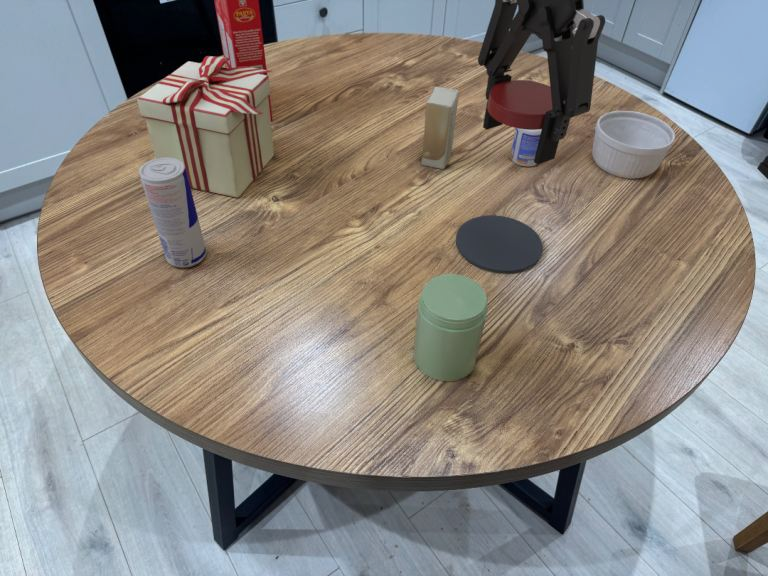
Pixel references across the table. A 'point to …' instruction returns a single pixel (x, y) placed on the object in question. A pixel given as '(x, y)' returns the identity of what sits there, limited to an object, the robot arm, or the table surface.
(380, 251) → the table surface
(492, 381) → the table surface
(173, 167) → the beverage can
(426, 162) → the cosmetic box
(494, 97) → the lid
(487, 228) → the coaster
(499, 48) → the robot arm
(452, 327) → the jar
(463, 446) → the table surface
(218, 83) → the gift box
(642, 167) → the ramekin
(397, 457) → the table surface
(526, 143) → the pill bottle
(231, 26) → the food packaging
